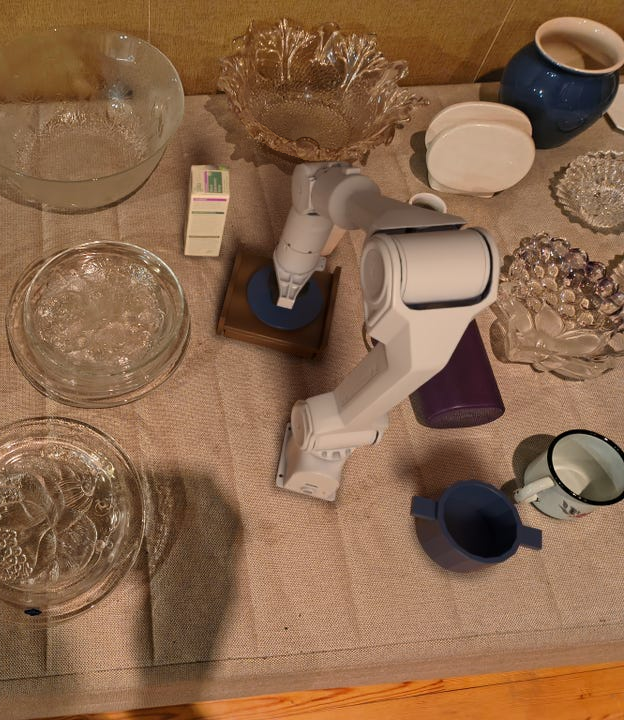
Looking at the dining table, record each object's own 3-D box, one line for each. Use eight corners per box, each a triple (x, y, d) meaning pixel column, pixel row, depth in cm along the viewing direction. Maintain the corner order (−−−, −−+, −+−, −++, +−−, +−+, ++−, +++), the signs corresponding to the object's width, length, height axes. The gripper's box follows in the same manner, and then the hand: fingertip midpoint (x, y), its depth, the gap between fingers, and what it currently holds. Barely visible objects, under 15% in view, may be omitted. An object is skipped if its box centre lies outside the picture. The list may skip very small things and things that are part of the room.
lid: (312, 341, 96) (321, 324, 92) (237, 319, 97) (243, 302, 93) (326, 279, 101) (335, 261, 97) (255, 260, 102) (260, 241, 98)
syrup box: (219, 257, 106) (233, 195, 93) (182, 256, 106) (191, 194, 93) (218, 228, 108) (231, 165, 95) (182, 227, 108) (190, 163, 95)
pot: (514, 589, 84) (545, 580, 78) (391, 554, 85) (412, 542, 79) (516, 512, 88) (545, 498, 82) (399, 480, 90) (419, 464, 84)
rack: (318, 361, 98) (328, 345, 93) (215, 334, 99) (220, 317, 95) (332, 285, 104) (341, 266, 100) (235, 261, 106) (240, 242, 101)
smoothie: (298, 256, 106) (322, 197, 94) (305, 226, 109) (329, 165, 97) (337, 267, 106) (367, 209, 93) (344, 236, 108) (373, 176, 96)
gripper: (326, 288, 82) (300, 341, 94) (343, 201, 88) (316, 261, 100) (271, 274, 83) (251, 328, 95) (291, 189, 89) (270, 250, 101)
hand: (281, 293), depth 98 cm, fingers open, 3 cm apart
